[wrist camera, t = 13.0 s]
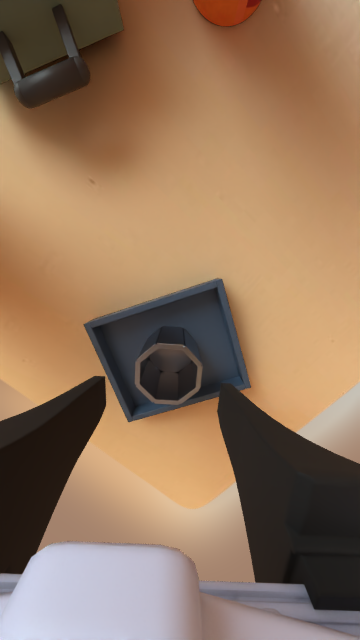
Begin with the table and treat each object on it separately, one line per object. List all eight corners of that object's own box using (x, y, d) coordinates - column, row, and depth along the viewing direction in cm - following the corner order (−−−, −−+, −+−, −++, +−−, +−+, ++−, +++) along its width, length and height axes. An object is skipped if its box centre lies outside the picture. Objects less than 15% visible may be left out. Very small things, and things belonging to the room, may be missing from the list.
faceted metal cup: (145, 371, 20) (134, 402, 15) (147, 324, 19) (135, 341, 14) (193, 374, 20) (198, 406, 15) (198, 328, 19) (205, 346, 14)
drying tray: (133, 408, 22) (128, 422, 19) (93, 319, 19) (83, 324, 17) (244, 376, 21) (251, 387, 19) (217, 278, 18) (222, 278, 16)
